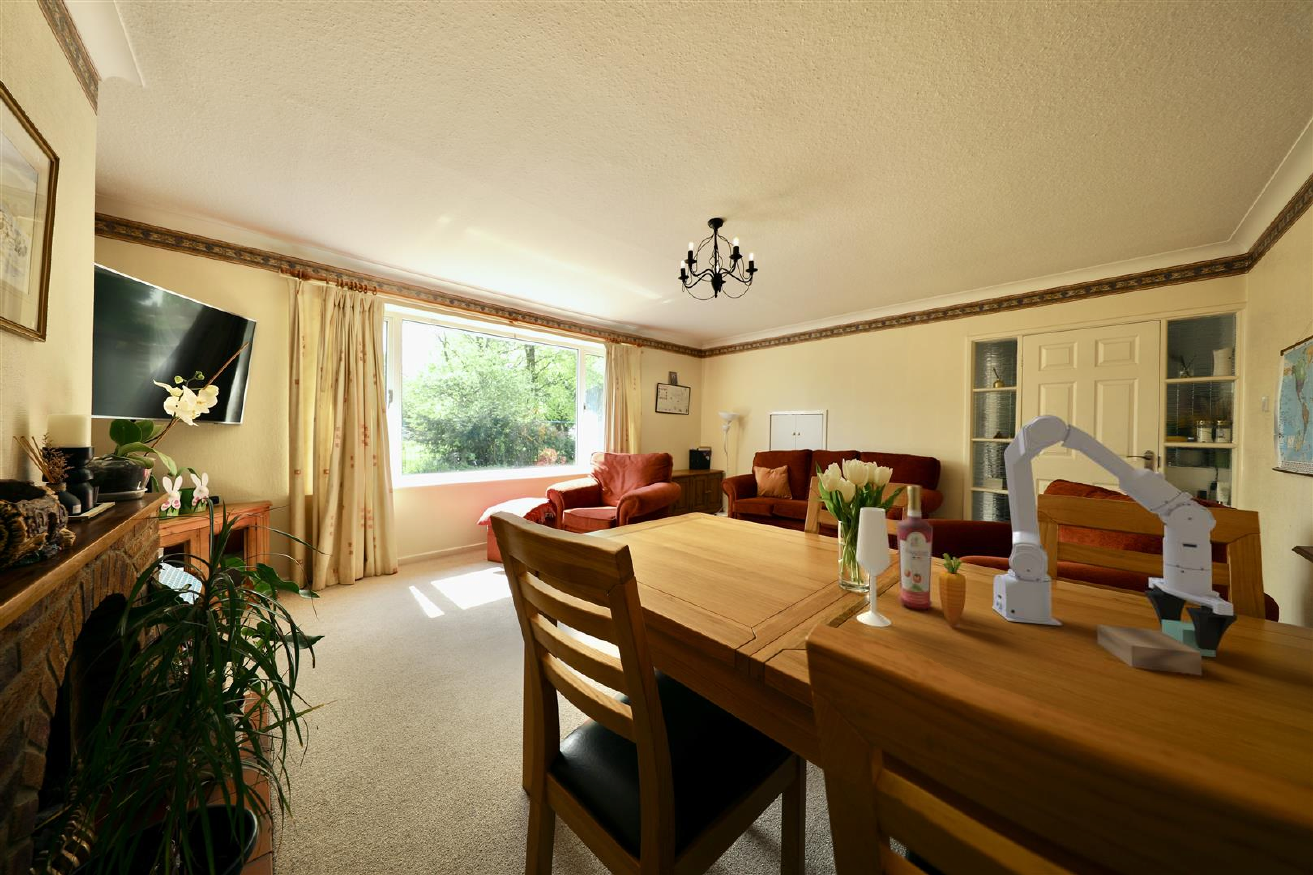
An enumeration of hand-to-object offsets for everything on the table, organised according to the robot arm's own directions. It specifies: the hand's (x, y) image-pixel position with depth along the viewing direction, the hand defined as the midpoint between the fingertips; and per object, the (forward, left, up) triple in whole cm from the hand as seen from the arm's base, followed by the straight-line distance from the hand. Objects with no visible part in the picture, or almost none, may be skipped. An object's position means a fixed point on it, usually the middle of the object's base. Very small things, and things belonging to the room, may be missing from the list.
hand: (1187, 639), depth 81 cm
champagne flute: (-53, 0, -2) cm, 53 cm away
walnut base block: (-10, -6, -2) cm, 12 cm away
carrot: (-38, 0, -2) cm, 38 cm away
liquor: (-42, +11, -2) cm, 43 cm away
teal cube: (0, 0, -2) cm, 2 cm away
